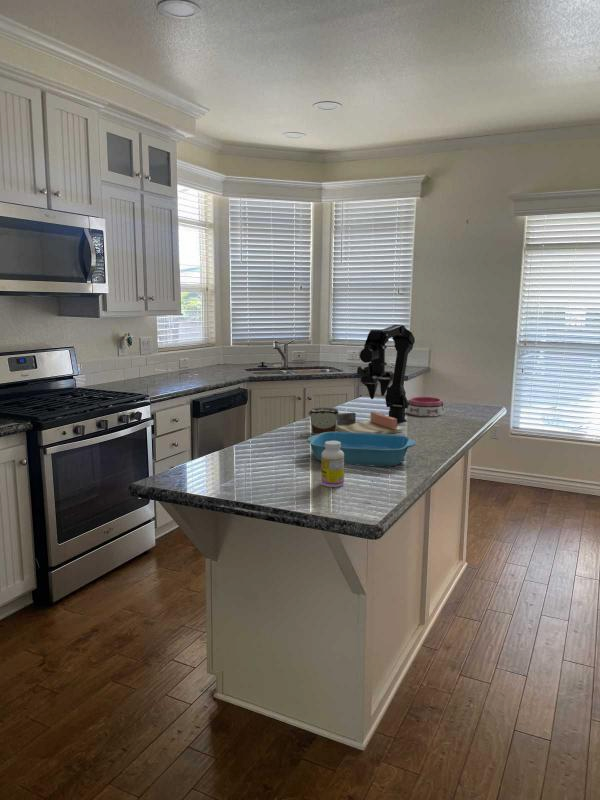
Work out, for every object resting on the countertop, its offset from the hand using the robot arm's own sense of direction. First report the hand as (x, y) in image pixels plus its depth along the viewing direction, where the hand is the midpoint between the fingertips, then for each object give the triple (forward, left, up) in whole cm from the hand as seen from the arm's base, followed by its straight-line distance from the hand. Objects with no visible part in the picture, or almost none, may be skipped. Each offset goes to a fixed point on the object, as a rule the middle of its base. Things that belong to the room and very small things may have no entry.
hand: (377, 397), depth 248 cm
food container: (+23, -3, -14) cm, 27 cm away
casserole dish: (+31, +38, -14) cm, 51 cm away
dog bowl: (-40, -20, -14) cm, 46 cm away
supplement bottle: (+53, +60, -14) cm, 81 cm away
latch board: (+5, +1, -13) cm, 14 cm away
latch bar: (-2, +2, -12) cm, 12 cm away
